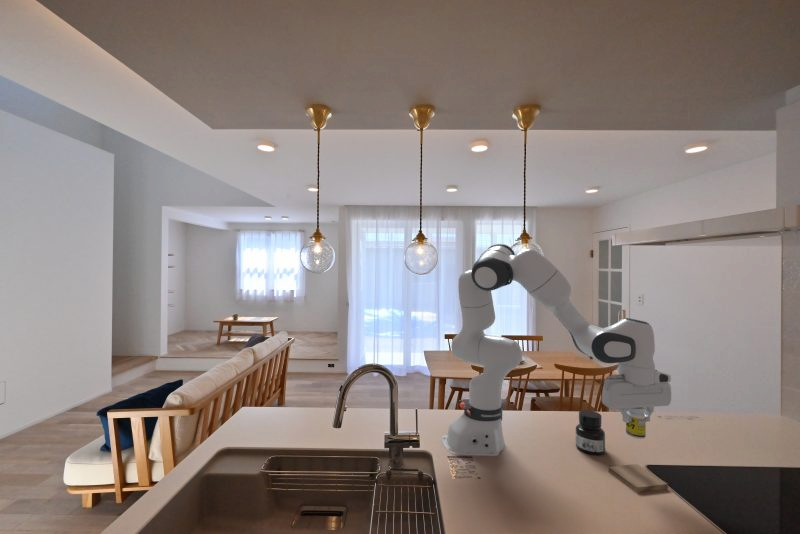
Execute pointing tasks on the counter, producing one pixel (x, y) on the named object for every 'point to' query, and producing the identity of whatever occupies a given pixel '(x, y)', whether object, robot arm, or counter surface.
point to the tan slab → (638, 478)
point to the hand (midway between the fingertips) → (636, 421)
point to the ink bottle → (590, 433)
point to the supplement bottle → (636, 423)
